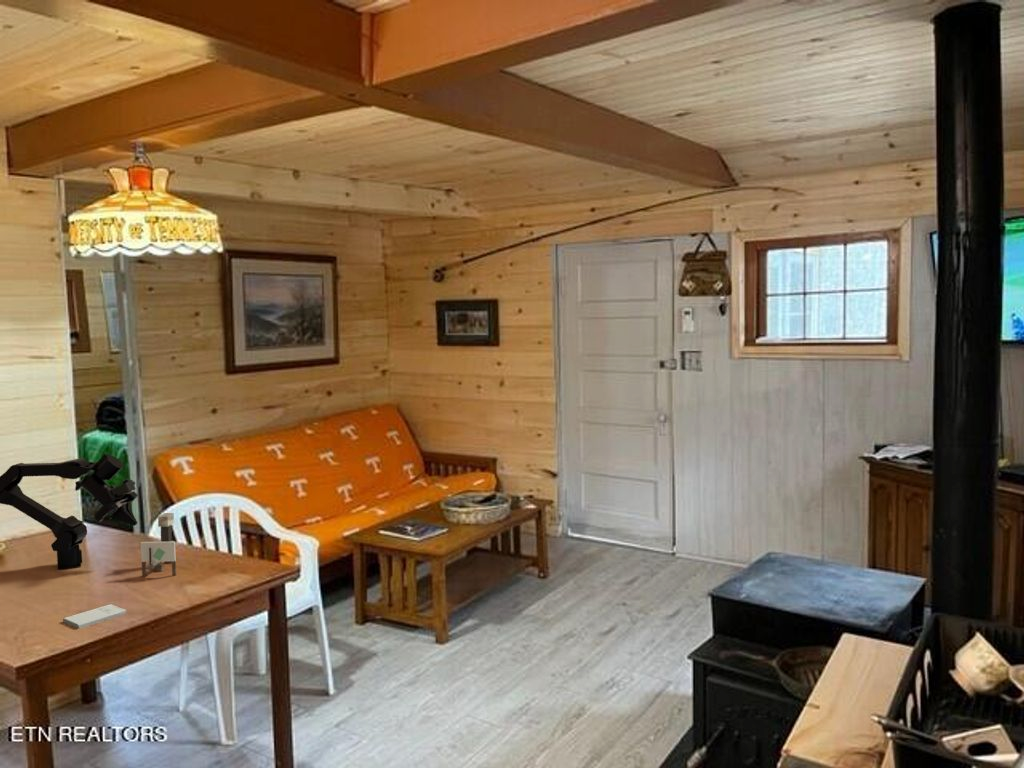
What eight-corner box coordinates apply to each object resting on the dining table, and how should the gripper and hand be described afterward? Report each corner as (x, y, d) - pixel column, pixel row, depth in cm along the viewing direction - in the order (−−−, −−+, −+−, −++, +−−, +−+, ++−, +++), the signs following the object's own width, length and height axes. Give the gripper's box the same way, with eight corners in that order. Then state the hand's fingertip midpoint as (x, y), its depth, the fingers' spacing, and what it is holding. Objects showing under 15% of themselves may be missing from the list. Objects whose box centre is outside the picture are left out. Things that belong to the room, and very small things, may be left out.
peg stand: (142, 576, 242) (141, 561, 242) (161, 562, 256) (160, 548, 256) (175, 575, 242) (175, 561, 242) (193, 561, 256) (192, 547, 256)
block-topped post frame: (144, 570, 241) (144, 524, 240) (164, 555, 255) (164, 513, 254) (154, 570, 241) (154, 525, 240) (174, 556, 255) (173, 513, 254)
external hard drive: (63, 623, 206) (110, 609, 216) (78, 630, 201) (126, 615, 211) (62, 617, 206) (109, 603, 216) (78, 624, 201) (126, 609, 211)
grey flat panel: (141, 561, 241) (140, 542, 241) (142, 561, 242) (141, 542, 242) (174, 561, 242) (173, 542, 241) (175, 560, 242) (174, 541, 242)
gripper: (103, 478, 241) (140, 514, 242) (131, 466, 260) (165, 500, 261) (77, 503, 242) (115, 539, 243) (107, 490, 260) (142, 523, 261)
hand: (136, 524), depth 252 cm, fingers closed
